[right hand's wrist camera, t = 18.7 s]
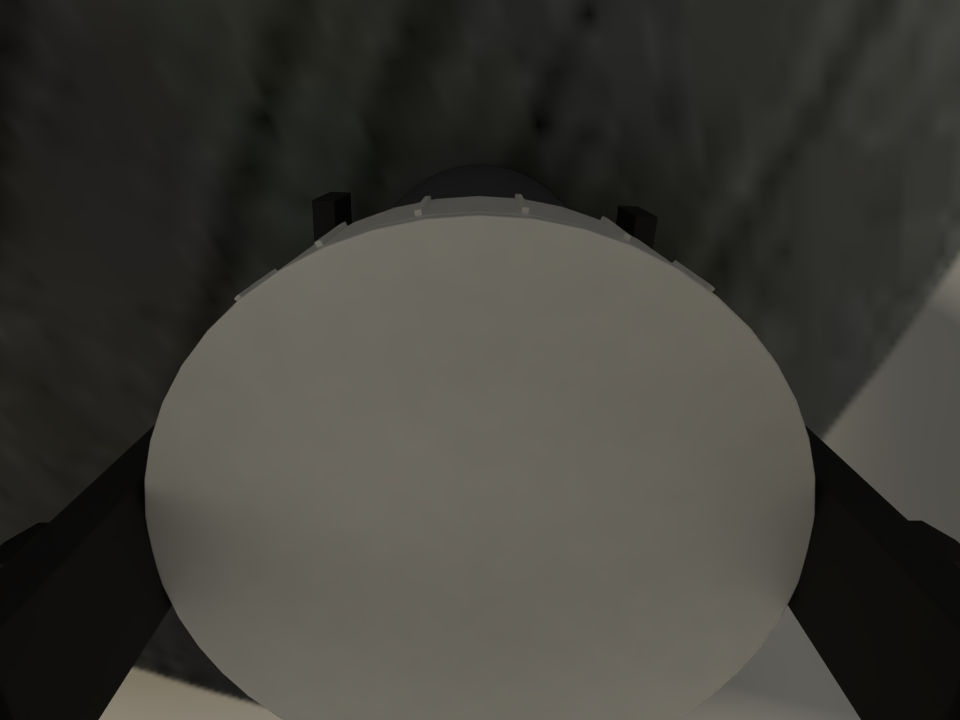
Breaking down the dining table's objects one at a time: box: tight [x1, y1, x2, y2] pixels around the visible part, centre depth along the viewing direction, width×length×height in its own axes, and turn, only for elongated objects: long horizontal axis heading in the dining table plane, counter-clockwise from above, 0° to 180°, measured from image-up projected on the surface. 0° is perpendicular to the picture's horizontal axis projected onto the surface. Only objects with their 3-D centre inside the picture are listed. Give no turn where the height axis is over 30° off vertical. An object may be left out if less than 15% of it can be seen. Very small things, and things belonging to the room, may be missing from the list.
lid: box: [145, 194, 815, 720], centre depth 11 cm, size 12×12×2 cm
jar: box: [391, 165, 568, 209], centre depth 20 cm, size 10×10×19 cm
